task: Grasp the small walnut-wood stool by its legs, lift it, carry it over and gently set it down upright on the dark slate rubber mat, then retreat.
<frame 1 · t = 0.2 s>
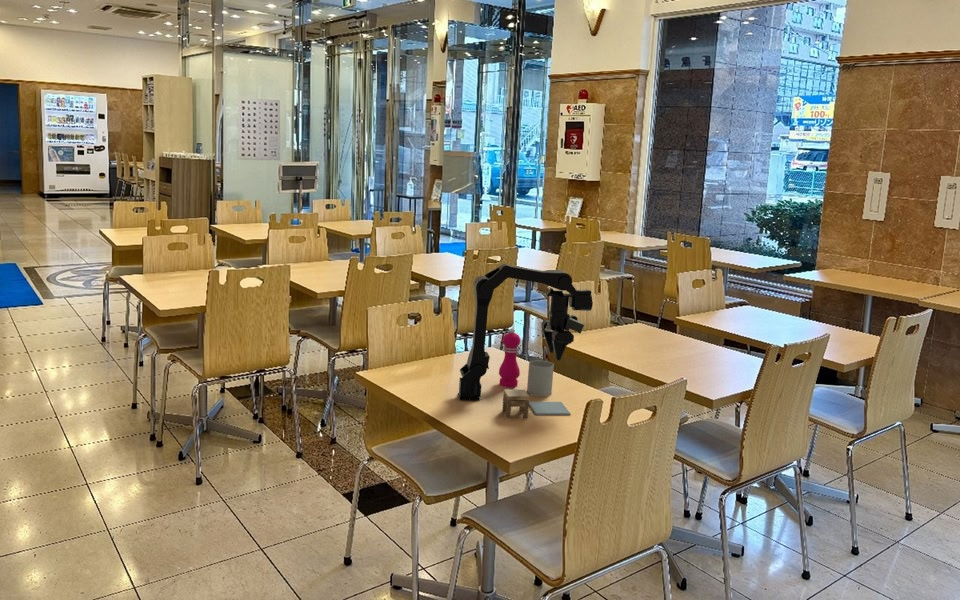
hand: (554, 356, 253), 14 cm above the table, fingers open, 9 cm apart
stool: (514, 414, 238), on the table
mat: (548, 409, 245), on the table
pepper mill: (508, 385, 268), on the table
cup: (539, 392, 262), on the table
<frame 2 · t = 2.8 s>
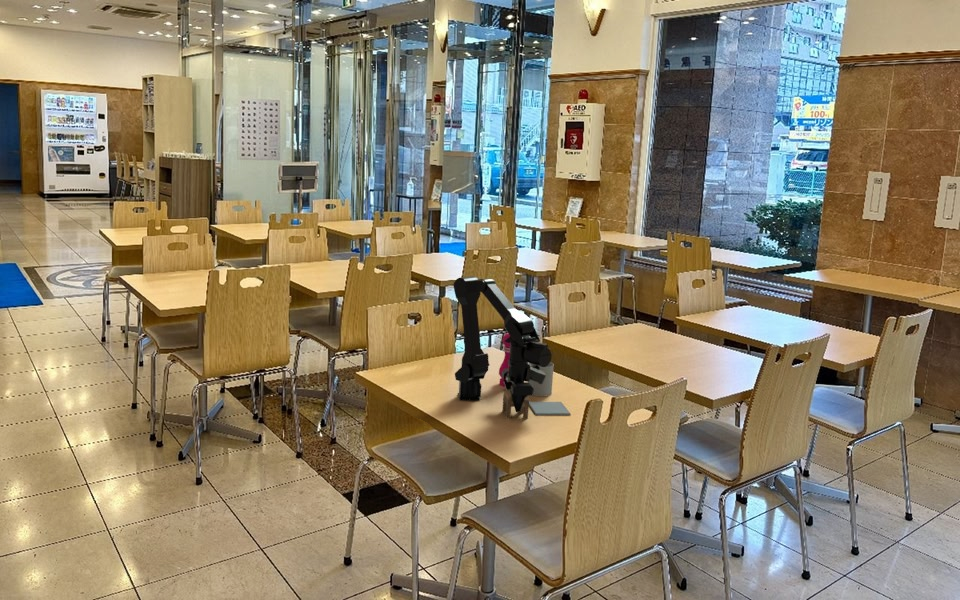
hand: (515, 408, 238), 2 cm above the table, fingers closed on stool, 6 cm apart
stool: (514, 414, 238), on the table, touching gripper
everything else where it was.
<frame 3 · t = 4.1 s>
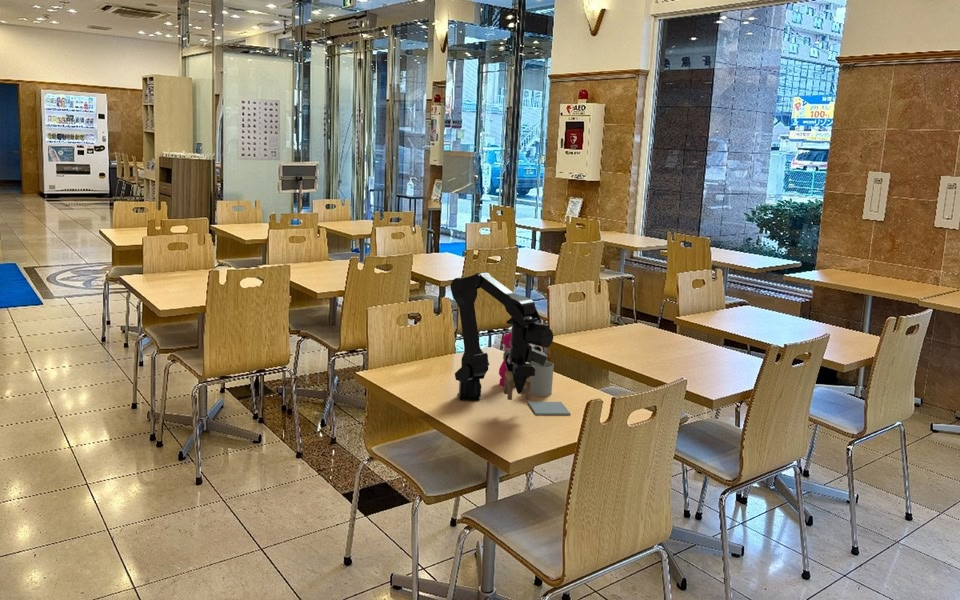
hand: (516, 390, 236), 8 cm above the table, fingers closed on stool, 6 cm apart
stool: (516, 396, 237), point 6 cm above the table, touching gripper
everything else where it was.
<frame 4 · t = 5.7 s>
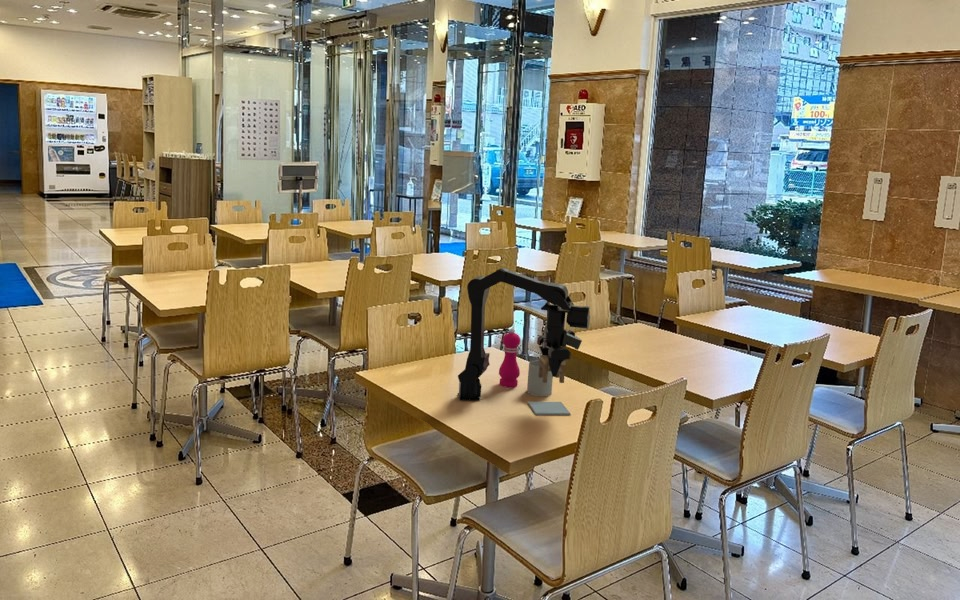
hand: (551, 373, 243), 12 cm above the table, fingers closed on stool, 6 cm apart
stool: (550, 379, 243), point 10 cm above the table, touching gripper
everything else where it was.
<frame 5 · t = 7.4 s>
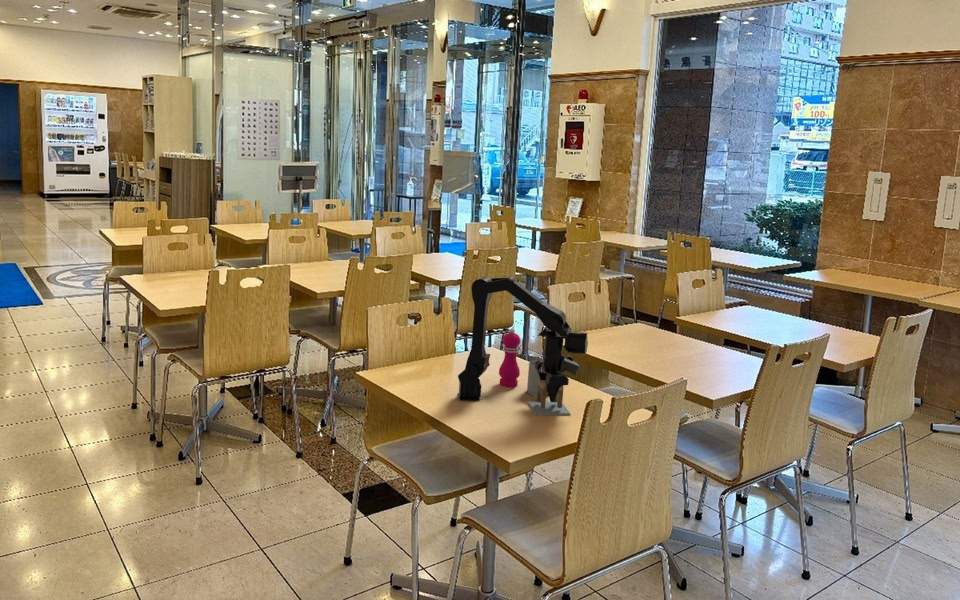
hand: (549, 398, 244), 4 cm above the table, fingers closed on stool, 6 cm apart
stool: (548, 404, 245), point 2 cm above the table, touching gripper
everything else where it was.
when the fingers open (3 cm above the table, at t = 8.5 s): stool stays where it is, resting on mat.
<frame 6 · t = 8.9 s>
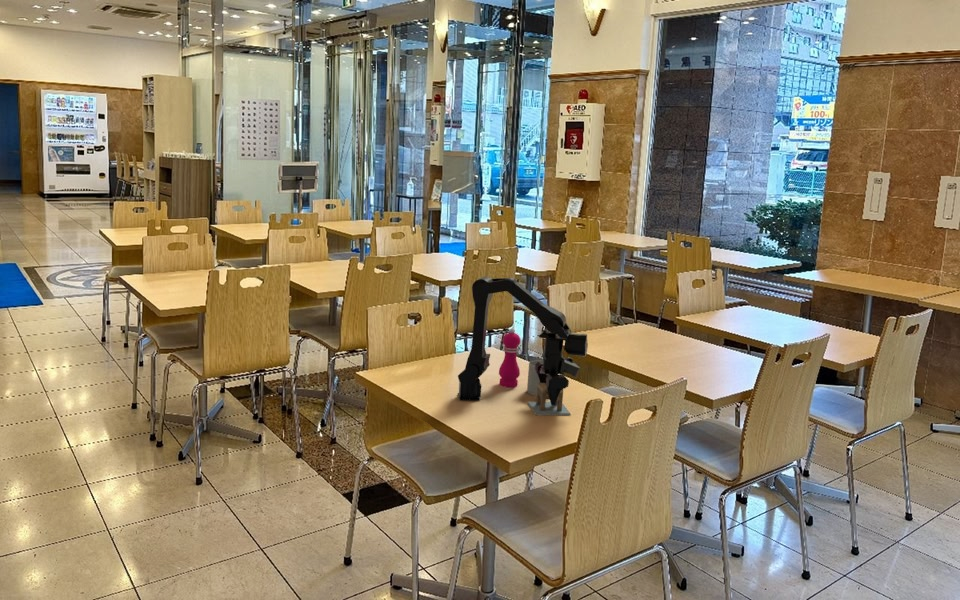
hand: (549, 400, 244), 3 cm above the table, fingers open, 9 cm apart
stool: (548, 407, 245), point 1 cm above the table, touching mat
everything else where it was.
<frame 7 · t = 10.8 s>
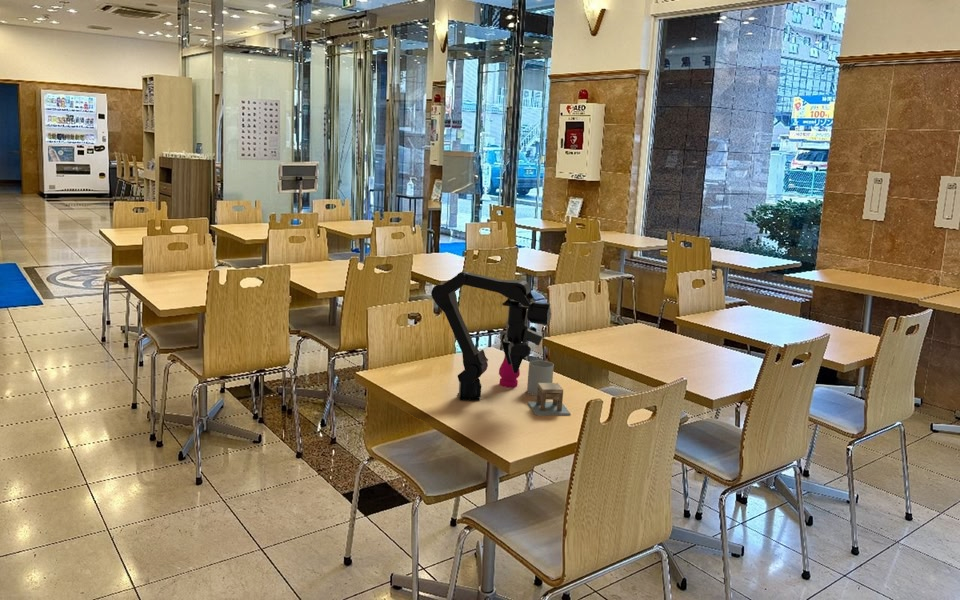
hand: (512, 368, 245), 12 cm above the table, fingers open, 9 cm apart
nothing on the table moved.
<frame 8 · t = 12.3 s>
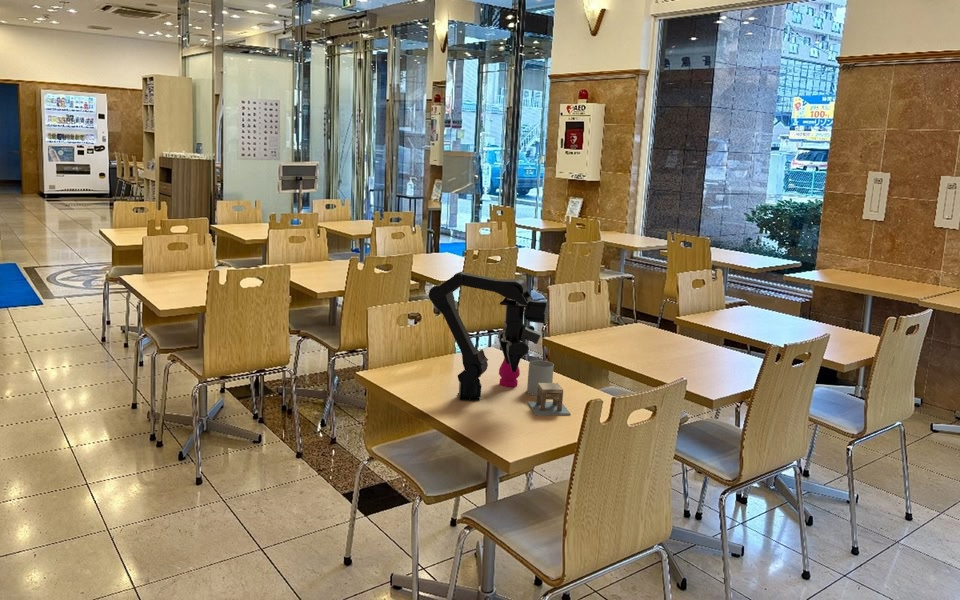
hand: (511, 367, 245), 12 cm above the table, fingers open, 9 cm apart
nothing on the table moved.
at the end: stool 0.0 cm off-centre on the mat, point 0.6 cm above the mat's base; stool tilted 0°; the gripper is holding nothing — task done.
